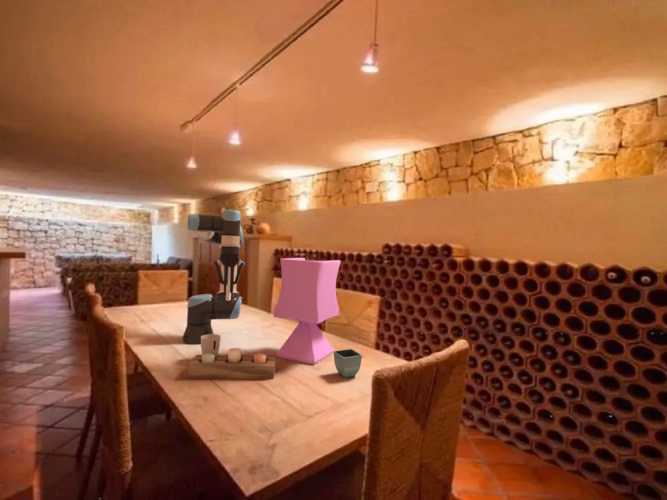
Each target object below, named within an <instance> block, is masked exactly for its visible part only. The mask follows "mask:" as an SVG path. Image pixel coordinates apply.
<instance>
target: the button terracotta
mask: <svg viewBox="0 0 667 500" xmlns="http://www.w3.org/2000/svg"><path fill="white" fill-rule="evenodd" d="M253 355H254V363H266V355H267V354H265V353H256V354H253Z"/></svg>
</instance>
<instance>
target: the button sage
mask: <svg viewBox="0 0 667 500" xmlns="http://www.w3.org/2000/svg"><path fill="white" fill-rule="evenodd" d="M201 355H202V354H201ZM202 362H210V363H214V362H215V354H213V353H206V354H203V355H202Z"/></svg>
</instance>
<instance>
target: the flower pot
mask: <svg viewBox="0 0 667 500" xmlns="http://www.w3.org/2000/svg"><path fill="white" fill-rule="evenodd" d="M362 358H363V354H361V353H359V352H358V351H356V350H354V349H352V348H347V349H341V350H340V349H339V350H333V360H334V366H335V369H336V371H337V372H338V374H339V375H341V376H342V377H343V378H349V377H351V378H352V377H355V376H357V374H358V372H359V371H360V368H361V366H362Z"/></svg>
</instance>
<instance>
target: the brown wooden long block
mask: <svg viewBox="0 0 667 500" xmlns="http://www.w3.org/2000/svg"><path fill="white" fill-rule="evenodd" d="M254 355H255V354H241V362H240V363H228V354H218V355H215V362H214V363H210V362H202V354H196V355H195V356H194V357H193V359H191V360H190V362H188V364H187V365H186V366H187V367H186V369H187V370H186V371H187V372H186V374H187V375H186V379H215V380H217V379H220V380H221V379H222V380H223V379H225V380H226V379H230V380H232V379H237V380H238V379H240V380H241V379H243V380H244V379H245V380H246V379H247V380H248V379H254V380H255V379H257V380H258V379H260V380H261V379H263V380H264V379H265V380H266V379H267V380H269V379H270V380H271V379H272V380H273V379H274V378H275V372H276V366H277V354H274V355H272V354H271V355H269V354H265V355H266V363H254Z"/></svg>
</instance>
